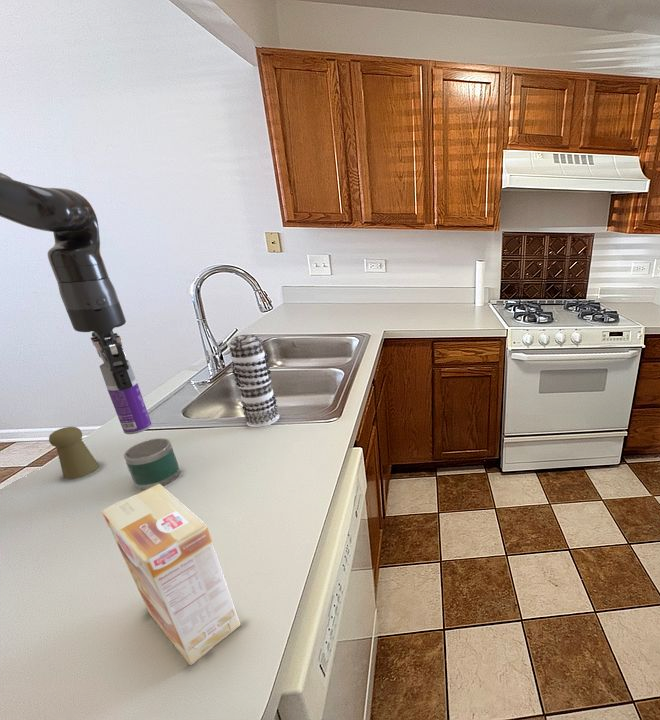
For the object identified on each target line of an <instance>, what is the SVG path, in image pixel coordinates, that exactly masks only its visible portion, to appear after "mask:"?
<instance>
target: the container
mask: <svg viewBox="0 0 660 720" xmlns="http://www.w3.org/2000/svg"><path fill="white" fill-rule="evenodd" d="M126 362H127V365H128V366H129V370H127V372H128V375H129V377H130V380H131V383H132V387H131V388H128V389H124V390H119V389H118V388H117V385H116V382H115V380H114V377H113V375H112V373H111V372H110V371H109V370H110V368H109V366H108V364H107V363H102V364H100V365H99V369H100V372H101V375H102V379H103V381H104V384H105V387H106V390H107V392H108V395H109V397H110V400H111V402H112V403H111V404H112V405H113V408H114V411H115V414H116V416H117V418H118V421H119V423H120V426H121V428H122V431H123V433H124V434H125V435H137V434H140V433H142V432H145V431H147V430H149V429H150V428H152V426H153V424H152V421H151V418H150V415H149V412H148V409H147V406H146V403H145V401H144V397H143V395H142V392H141V388H140V387H139V383H138V381H137V379H136V376H135V373H134V371H133V368H132V366H131V363H130V361H129V360H128V359H126ZM113 365H114V366H117V365H122V363H121V361H119V362H114V363H113Z"/></svg>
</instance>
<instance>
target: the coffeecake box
mask: <svg viewBox="0 0 660 720" xmlns="http://www.w3.org/2000/svg"><path fill="white" fill-rule="evenodd" d="M100 512H101V514H102V515H103V517H104V520H105V522H106V524H107V525H108V528H109V530H110V532H111V535H112V536H113V539H114V540H115V543H116V545H117V547H118V549H119V551H120V553H121V556H122V558H123V560H124V563H125V564H126V566H127V569H128V571H129V573H130V575H131V577H132V579H133V581H134V583H135V585H136V588H137V590H138V592H139V594H140V596H141V599H142V601H143V602H144V606H145V608H146V610H147V612H148V613H149V615H150V616H151V618H152V619H153V620H154V621H155V623H156V624H157V625H158V627H159V628H160V630H161V631H162V632H163V633H164V634H165V636H166V637H167V638H168V639H169V641H170V642H171V644H173V645H174V647H175V648H176V650H177V651H178V652H179V653H180V655H181V656H182V658H184V660H185V661H186V662H187V663H188V665H189V666H192V665H194V664H196V662H197V661H199V660H200V659H201V658H202V657H203V656H205V655H206V654H208V652H209V651H211V650H212V649H213V648H214V647H215V646H216V645H218V644H219V643H220V642H222V641H223V640H224V639H226V638H227V637H228V636H229V635H230V634H232V633H233V632H234V631H236V630H237V629H239V627H240V626H242V625H241V622H240V618H239V615H238V612H237V610H236V607H235V604H234V601H233V598H232V596H231V591H230V589H229V587H228V584H227V580H226V578H225V575H224V572H223V569H222V566H221V563H220V560H219V557H218V554H217V551H216V549H215V546H214V543H213V540H212V537H211V534H210V531H209V527H208V525H207V524H206V523H205V522H204V521H203V520H202V519H201V518H200V517H198V515H196V513H194V512H193V511H192V510H191V509H189V508H188V507H187V506H186V505H185V504H183V503H182V502H181V500H179V499H178V498H177V497H175V495H174V494H172V493H171V492H170V491H168V489H166V488H165V487H164V486H162V485H161V484H157V485H155V486H153V487H151V488H149V489H147V490H141V491H140V492H139V493H137V494H135V495H132V496H130V497H127V498H126V499H121V500H119V501H117V502H115V503H113V504H111V505H109V506H107V507H106V508H103V509H102V510H101V511H100Z"/></svg>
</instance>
